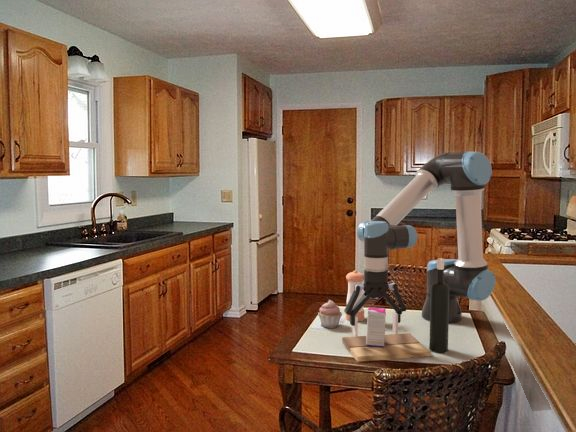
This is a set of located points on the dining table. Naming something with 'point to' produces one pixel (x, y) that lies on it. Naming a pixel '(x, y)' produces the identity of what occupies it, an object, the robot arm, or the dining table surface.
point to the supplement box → (375, 327)
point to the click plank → (389, 340)
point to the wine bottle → (439, 312)
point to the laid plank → (389, 352)
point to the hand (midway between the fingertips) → (375, 333)
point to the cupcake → (330, 315)
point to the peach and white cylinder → (352, 280)
